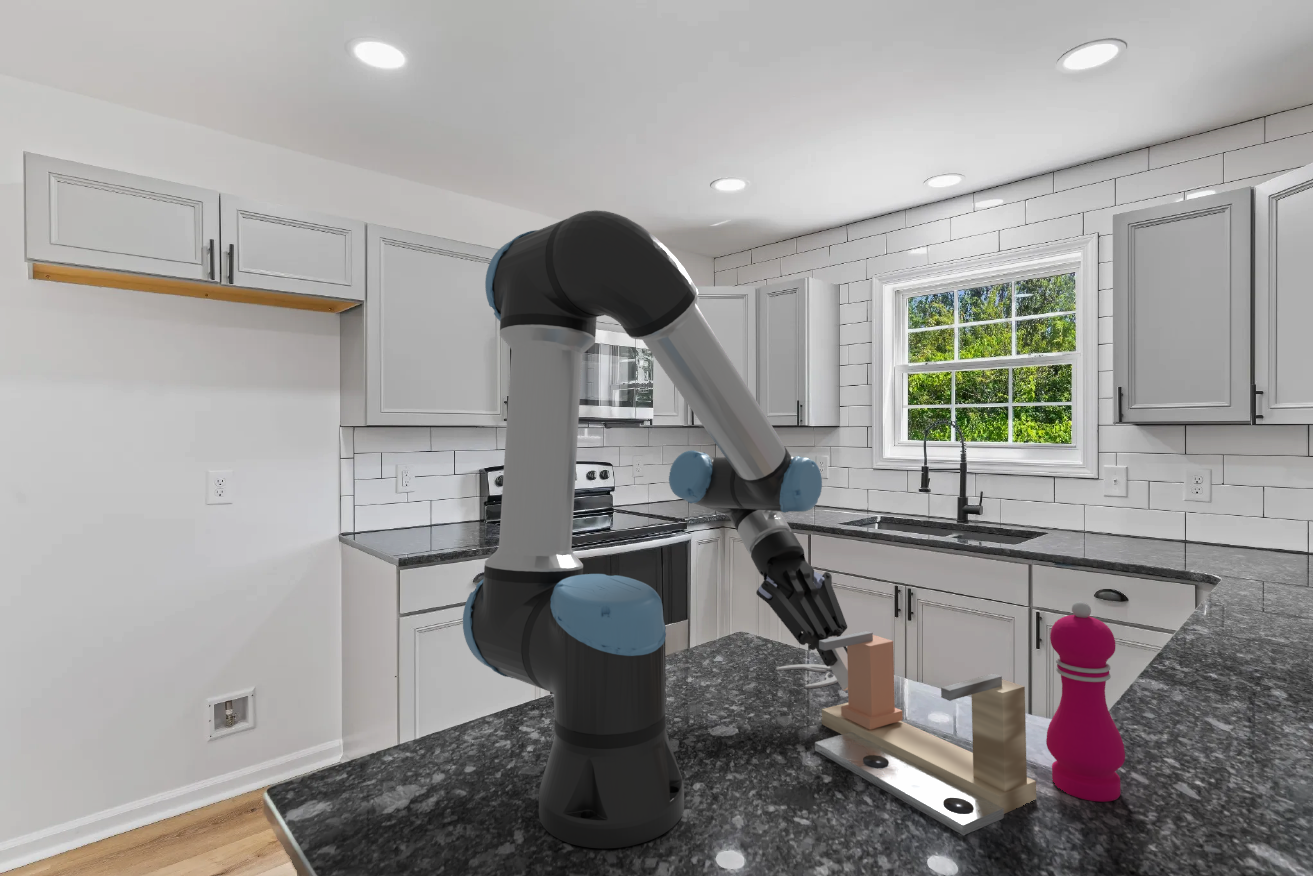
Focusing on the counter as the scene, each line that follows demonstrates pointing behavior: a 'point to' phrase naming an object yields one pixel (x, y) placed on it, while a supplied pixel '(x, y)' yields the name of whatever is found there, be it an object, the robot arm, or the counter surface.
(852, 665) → the slide leg
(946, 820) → the hole plate
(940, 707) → the counter surface
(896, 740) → the rail
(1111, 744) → the pepper mill
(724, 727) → the counter surface
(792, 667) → the pliers
